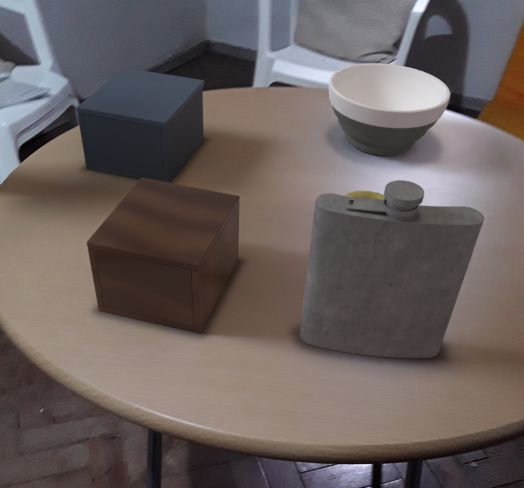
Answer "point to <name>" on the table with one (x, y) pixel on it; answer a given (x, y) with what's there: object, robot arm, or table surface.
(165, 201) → the cabinet
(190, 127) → the chest
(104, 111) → the lid
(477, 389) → the table surface
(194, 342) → the table surface
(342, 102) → the bowl
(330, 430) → the table surface
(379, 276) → the hip flask
